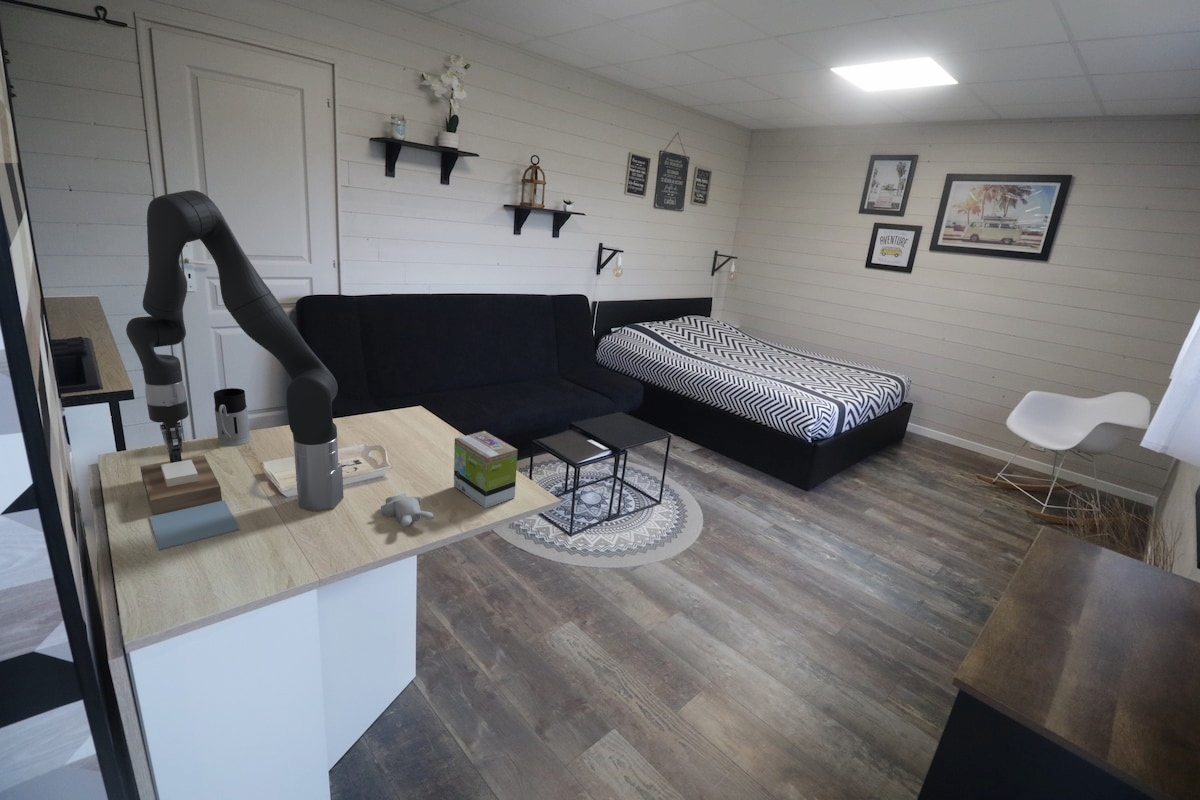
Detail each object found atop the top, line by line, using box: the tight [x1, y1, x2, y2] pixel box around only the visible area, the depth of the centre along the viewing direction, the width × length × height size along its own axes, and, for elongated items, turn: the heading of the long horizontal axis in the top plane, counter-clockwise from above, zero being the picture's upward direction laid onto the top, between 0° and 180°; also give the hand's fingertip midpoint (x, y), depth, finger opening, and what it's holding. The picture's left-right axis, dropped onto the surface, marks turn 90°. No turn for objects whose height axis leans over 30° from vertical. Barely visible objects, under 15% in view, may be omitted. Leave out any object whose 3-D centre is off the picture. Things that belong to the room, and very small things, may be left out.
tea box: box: [453, 430, 519, 509], centre depth 147 cm, size 15×10×15 cm, turn 47°
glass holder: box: [213, 387, 253, 447], centre depth 158 cm, size 9×14×15 cm, turn 18°
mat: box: [149, 499, 240, 551], centre depth 122 cm, size 15×14×1 cm
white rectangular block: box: [161, 460, 199, 487], centre depth 133 cm, size 9×6×2 cm, turn 43°
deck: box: [140, 455, 223, 516], centre depth 134 cm, size 20×13×4 cm, turn 43°
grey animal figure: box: [380, 493, 435, 528], centre depth 132 cm, size 10×5×15 cm
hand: (176, 465), depth 137 cm, fingers closed
